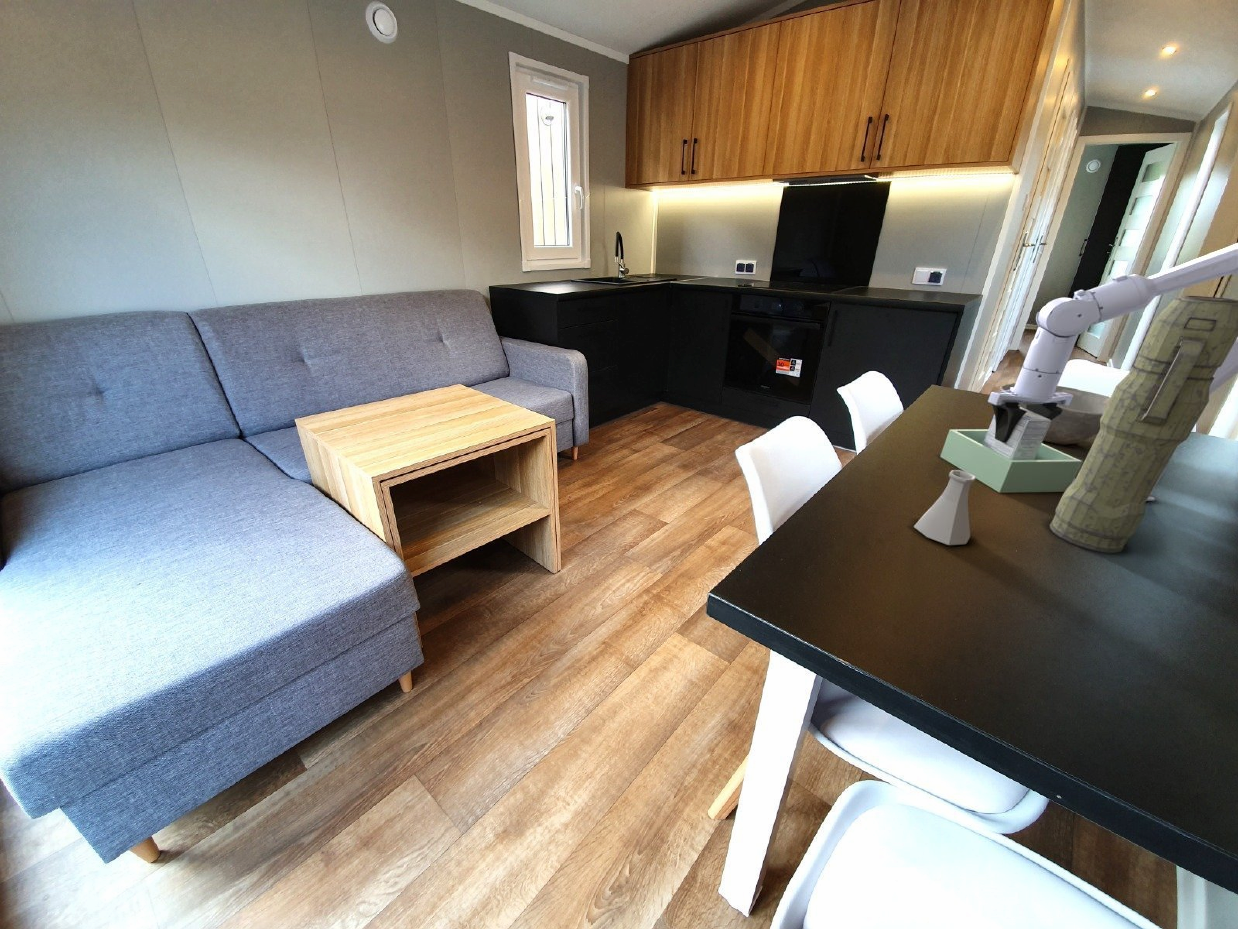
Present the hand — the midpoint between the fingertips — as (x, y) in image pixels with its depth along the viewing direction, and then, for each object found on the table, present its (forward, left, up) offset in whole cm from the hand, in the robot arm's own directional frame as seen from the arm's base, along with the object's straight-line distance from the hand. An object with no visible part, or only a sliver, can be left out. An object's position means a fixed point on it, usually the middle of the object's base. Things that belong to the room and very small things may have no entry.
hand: (1013, 440), depth 92 cm
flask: (+27, +20, -7) cm, 34 cm away
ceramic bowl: (-27, -18, -7) cm, 33 cm away
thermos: (+5, +22, -7) cm, 23 cm away
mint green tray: (0, 0, -7) cm, 7 cm away
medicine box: (0, 0, -3) cm, 3 cm away
